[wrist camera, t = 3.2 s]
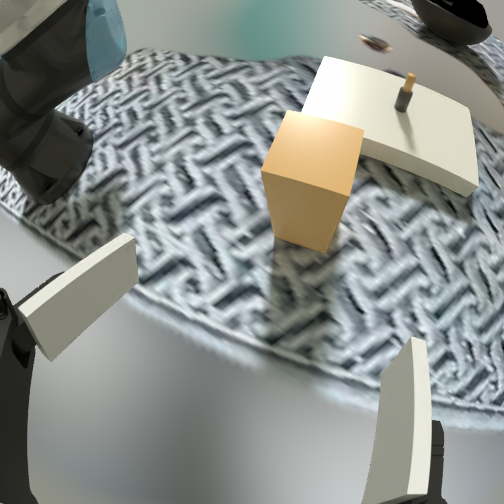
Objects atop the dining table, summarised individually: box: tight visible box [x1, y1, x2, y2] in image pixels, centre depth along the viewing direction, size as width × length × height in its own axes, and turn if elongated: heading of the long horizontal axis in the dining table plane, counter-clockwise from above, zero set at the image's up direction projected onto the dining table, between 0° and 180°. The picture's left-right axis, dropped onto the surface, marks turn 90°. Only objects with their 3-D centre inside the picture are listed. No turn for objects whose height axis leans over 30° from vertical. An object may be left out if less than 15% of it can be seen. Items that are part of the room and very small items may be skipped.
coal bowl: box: [411, 0, 492, 45], centre depth 25 cm, size 20×20×19 cm
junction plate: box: [301, 56, 479, 198], centre depth 25 cm, size 22×14×8 cm, turn 69°
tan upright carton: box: [261, 110, 364, 254], centre depth 21 cm, size 5×5×12 cm
